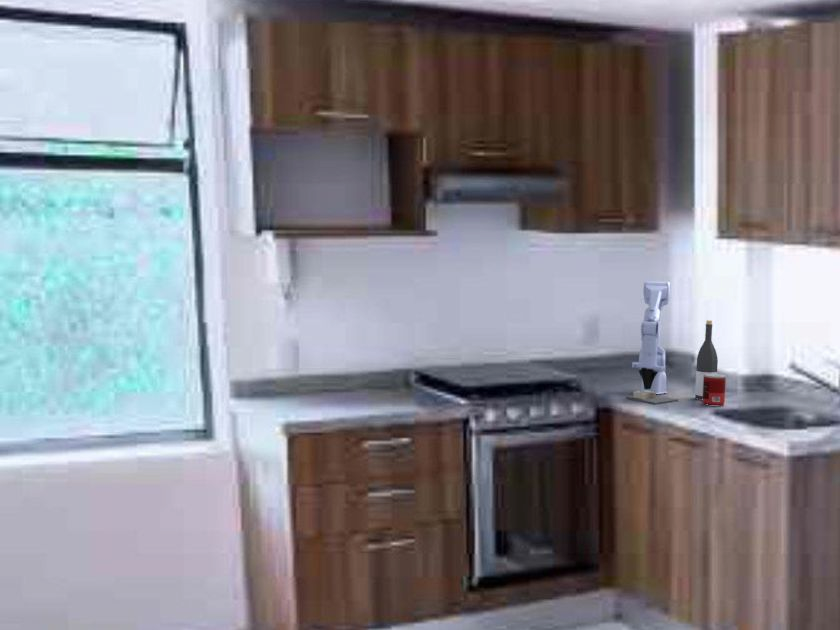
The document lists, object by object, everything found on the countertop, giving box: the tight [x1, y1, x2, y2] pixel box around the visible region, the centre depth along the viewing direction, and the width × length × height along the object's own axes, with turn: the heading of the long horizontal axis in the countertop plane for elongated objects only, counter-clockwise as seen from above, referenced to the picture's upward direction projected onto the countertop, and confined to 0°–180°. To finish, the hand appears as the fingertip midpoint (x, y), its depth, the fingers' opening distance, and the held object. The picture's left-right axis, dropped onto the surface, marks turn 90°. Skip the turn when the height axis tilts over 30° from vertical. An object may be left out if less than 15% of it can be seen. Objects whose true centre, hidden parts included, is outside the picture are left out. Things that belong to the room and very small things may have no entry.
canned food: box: [702, 373, 727, 406], centre depth 375 cm, size 8×8×11 cm
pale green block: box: [632, 390, 656, 399], centre depth 383 cm, size 7×2×5 cm
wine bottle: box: [694, 319, 719, 400], centre depth 386 cm, size 8×8×30 cm
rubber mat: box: [625, 394, 679, 405], centre depth 382 cm, size 13×14×1 cm
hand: (647, 388), depth 383 cm, fingers closed
